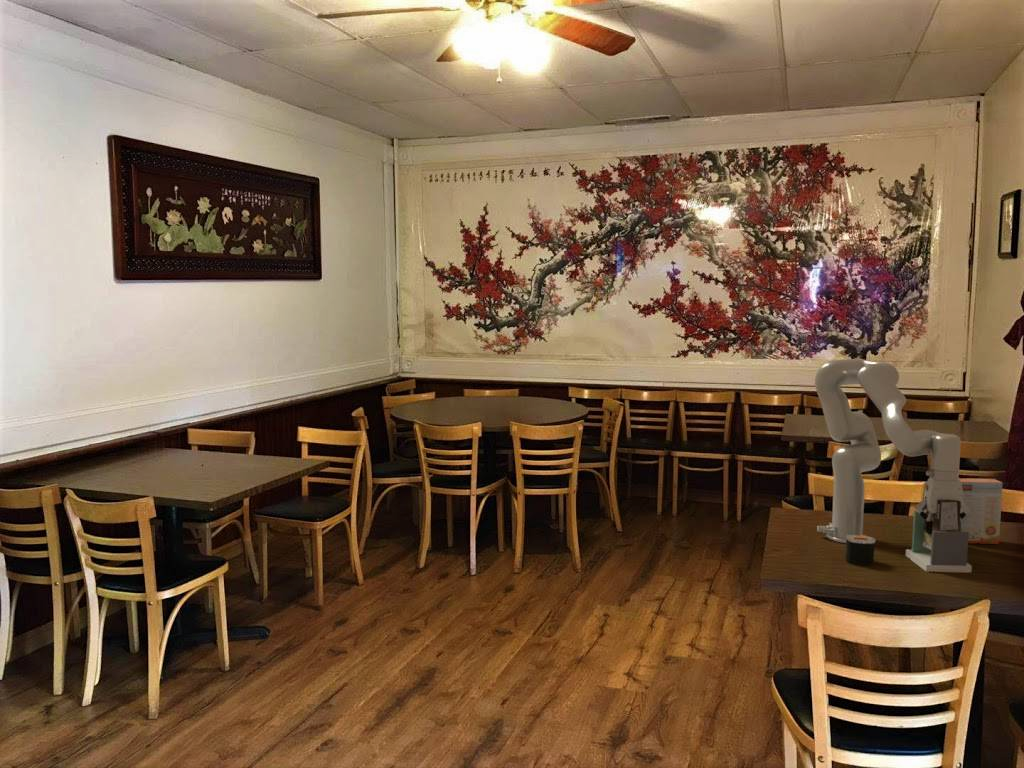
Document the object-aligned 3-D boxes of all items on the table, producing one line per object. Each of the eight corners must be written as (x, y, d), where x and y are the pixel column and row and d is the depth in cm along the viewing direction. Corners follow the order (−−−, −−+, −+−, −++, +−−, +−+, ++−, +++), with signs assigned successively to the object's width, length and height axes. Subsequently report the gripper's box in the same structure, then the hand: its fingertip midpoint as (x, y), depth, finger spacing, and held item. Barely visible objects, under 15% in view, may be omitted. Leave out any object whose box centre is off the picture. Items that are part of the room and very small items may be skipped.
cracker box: (990, 539, 282) (995, 478, 279) (999, 545, 276) (1003, 482, 273) (947, 538, 283) (951, 477, 281) (954, 543, 277) (958, 481, 275)
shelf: (926, 571, 249) (929, 522, 248) (905, 555, 264) (908, 508, 263) (971, 572, 249) (974, 522, 247) (948, 556, 264) (951, 509, 262)
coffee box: (959, 554, 251) (962, 501, 249) (938, 554, 250) (941, 501, 248) (941, 545, 260) (944, 494, 258) (921, 545, 259) (924, 494, 257)
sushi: (875, 567, 253) (876, 541, 252) (845, 564, 256) (846, 538, 255) (873, 559, 261) (874, 534, 260) (844, 556, 263) (845, 531, 262)
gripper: (919, 477, 249) (916, 536, 251) (980, 478, 248) (976, 537, 250) (909, 472, 257) (906, 529, 259) (968, 473, 256) (964, 530, 258)
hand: (940, 532), depth 254 cm, fingers closed on coffee box, 6 cm apart
